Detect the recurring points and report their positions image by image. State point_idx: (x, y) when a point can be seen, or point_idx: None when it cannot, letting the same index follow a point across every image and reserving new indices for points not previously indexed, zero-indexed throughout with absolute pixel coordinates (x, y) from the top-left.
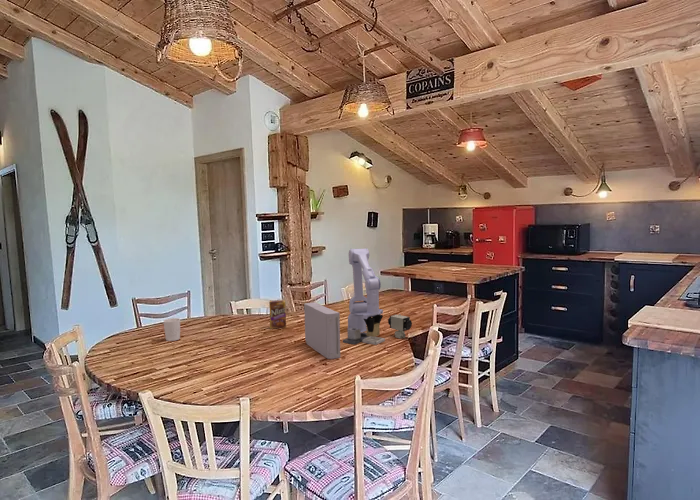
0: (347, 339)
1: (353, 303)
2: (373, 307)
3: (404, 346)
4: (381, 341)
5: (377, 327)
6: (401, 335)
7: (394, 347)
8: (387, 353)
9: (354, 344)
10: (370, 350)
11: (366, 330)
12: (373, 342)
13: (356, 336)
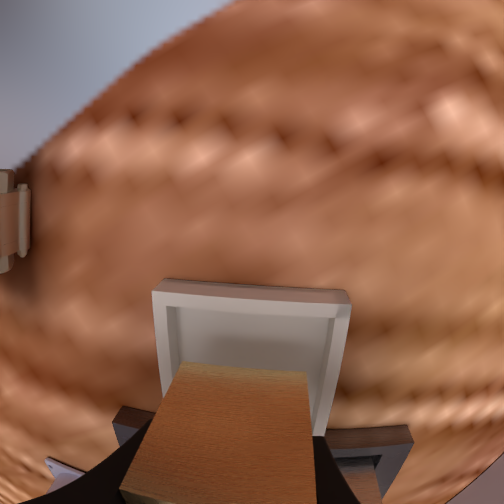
0: None
1: None
2: None
3: (208, 19)
4: (228, 290)
5: (205, 447)
6: (5, 186)
7: (298, 80)
8: (485, 77)
9: (408, 430)
10: (487, 253)
11: (70, 469)
12: (346, 330)
13: (356, 485)
